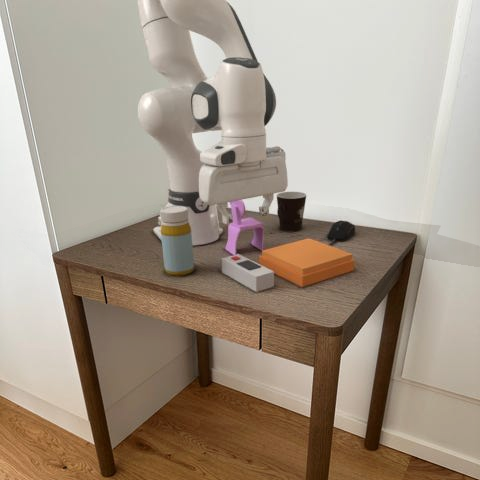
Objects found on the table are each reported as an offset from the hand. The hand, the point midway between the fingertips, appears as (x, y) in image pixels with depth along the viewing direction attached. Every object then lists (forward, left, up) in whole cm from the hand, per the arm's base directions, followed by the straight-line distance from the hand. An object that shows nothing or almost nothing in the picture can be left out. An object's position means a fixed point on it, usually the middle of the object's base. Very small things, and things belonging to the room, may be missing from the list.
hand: (246, 219), depth 98 cm
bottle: (-14, -10, -14) cm, 22 cm away
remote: (0, 0, -14) cm, 14 cm away
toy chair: (-17, +11, -14) cm, 25 cm away
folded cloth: (+3, +15, -14) cm, 21 cm away
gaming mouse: (-9, +38, -14) cm, 42 cm away
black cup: (-24, +31, -14) cm, 42 cm away
